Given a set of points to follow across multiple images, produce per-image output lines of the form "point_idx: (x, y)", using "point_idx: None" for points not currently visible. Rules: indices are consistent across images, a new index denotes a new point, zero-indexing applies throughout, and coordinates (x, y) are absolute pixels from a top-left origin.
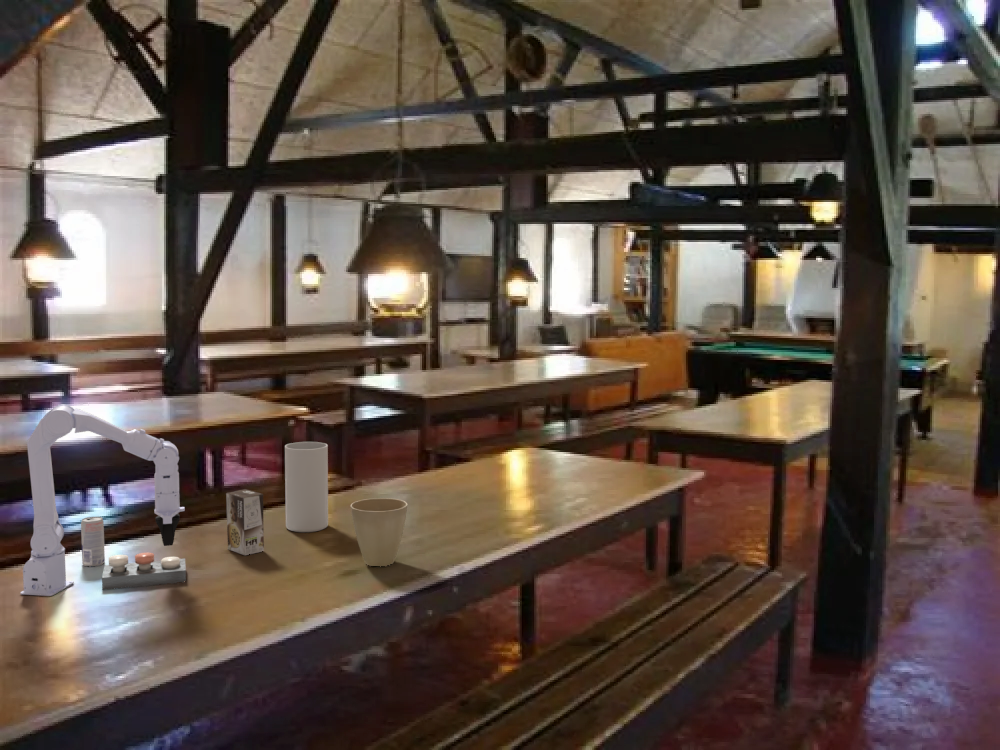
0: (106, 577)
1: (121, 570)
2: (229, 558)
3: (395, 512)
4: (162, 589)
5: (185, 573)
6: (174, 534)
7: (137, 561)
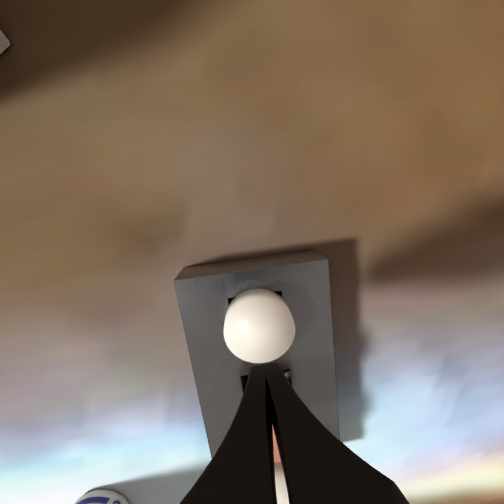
0: None
1: None
2: (49, 116)
3: None
4: (365, 307)
5: (324, 257)
6: (301, 400)
7: None
